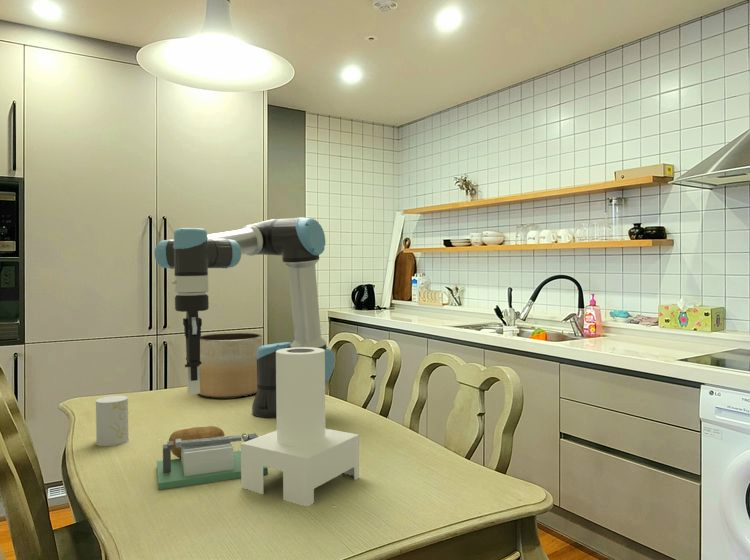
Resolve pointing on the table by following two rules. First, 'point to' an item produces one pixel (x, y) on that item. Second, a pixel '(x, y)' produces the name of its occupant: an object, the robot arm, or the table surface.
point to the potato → (194, 436)
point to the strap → (210, 440)
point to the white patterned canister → (112, 420)
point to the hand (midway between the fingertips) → (193, 393)
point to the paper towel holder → (300, 432)
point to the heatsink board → (199, 478)
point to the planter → (229, 364)
